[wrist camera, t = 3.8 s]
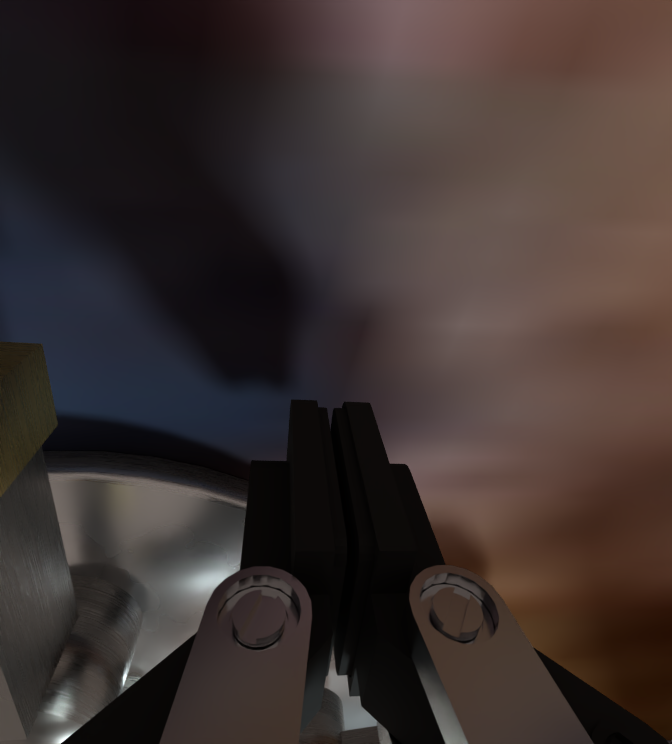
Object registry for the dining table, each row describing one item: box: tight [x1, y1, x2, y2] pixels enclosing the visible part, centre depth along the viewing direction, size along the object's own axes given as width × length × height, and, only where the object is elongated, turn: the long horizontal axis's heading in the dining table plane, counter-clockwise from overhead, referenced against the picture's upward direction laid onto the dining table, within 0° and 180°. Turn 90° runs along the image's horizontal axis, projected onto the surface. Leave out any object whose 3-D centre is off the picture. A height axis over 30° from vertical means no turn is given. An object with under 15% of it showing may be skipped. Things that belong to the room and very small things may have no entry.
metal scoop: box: [0, 342, 143, 744], centre depth 9 cm, size 10×3×4 cm, turn 174°
